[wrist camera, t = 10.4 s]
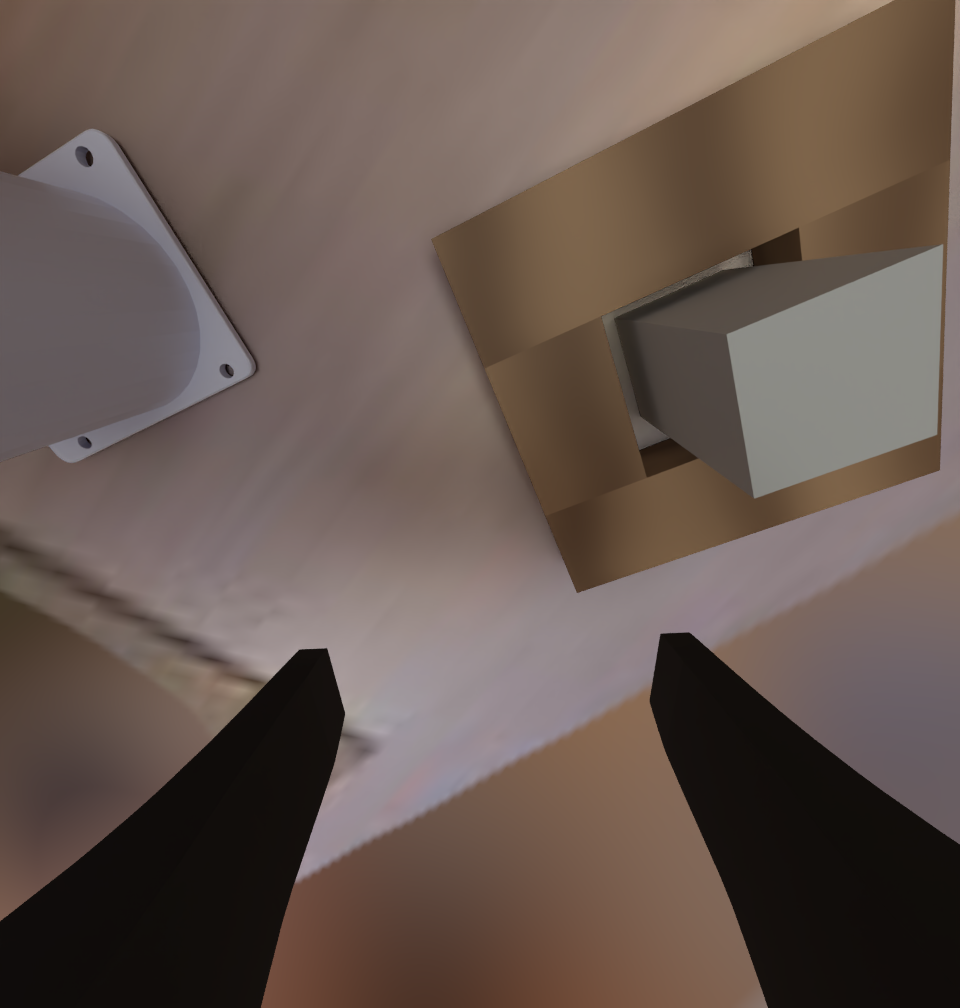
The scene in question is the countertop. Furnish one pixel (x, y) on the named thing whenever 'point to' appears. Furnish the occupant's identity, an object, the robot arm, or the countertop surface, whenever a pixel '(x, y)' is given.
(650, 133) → the collar
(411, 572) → the countertop surface
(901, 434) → the peg
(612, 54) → the countertop surface
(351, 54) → the countertop surface
